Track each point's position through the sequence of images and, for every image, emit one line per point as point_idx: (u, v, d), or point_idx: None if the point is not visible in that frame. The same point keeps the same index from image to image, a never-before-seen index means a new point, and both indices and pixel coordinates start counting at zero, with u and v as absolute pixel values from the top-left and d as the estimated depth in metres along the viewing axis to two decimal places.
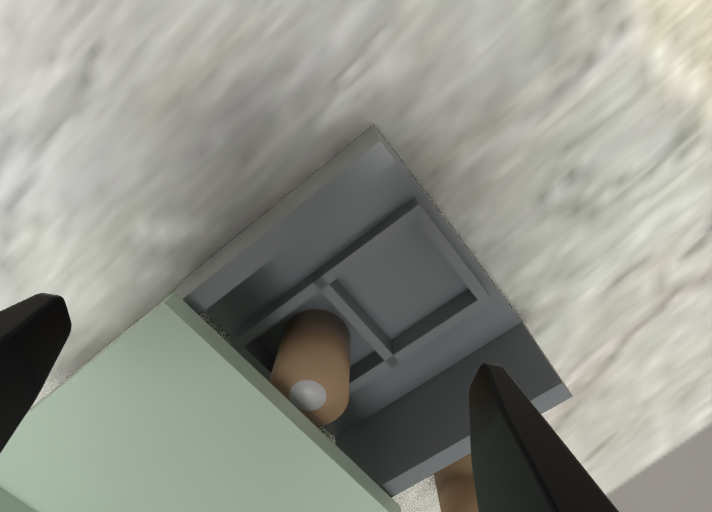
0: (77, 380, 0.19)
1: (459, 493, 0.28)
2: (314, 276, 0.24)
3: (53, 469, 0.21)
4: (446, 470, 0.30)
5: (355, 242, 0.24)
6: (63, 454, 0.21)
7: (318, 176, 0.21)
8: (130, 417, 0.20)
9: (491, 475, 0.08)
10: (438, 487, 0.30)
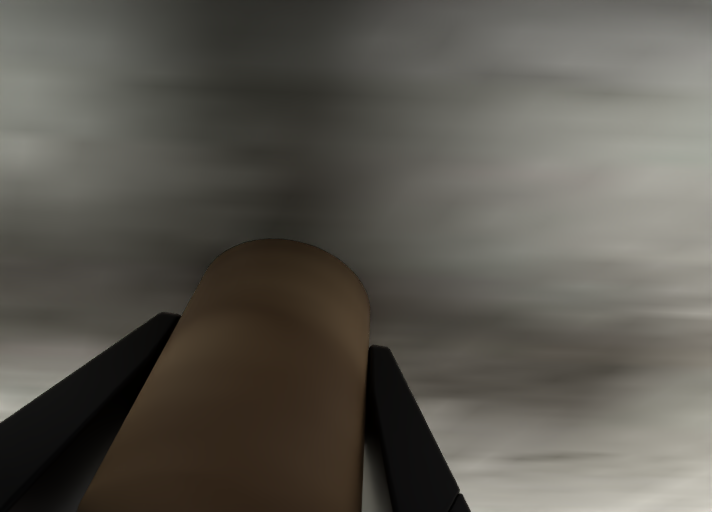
0: None
1: (270, 373, 0.07)
2: None
3: None
4: (264, 280, 0.08)
5: None
6: None
7: None
8: None
9: None
10: (198, 306, 0.08)
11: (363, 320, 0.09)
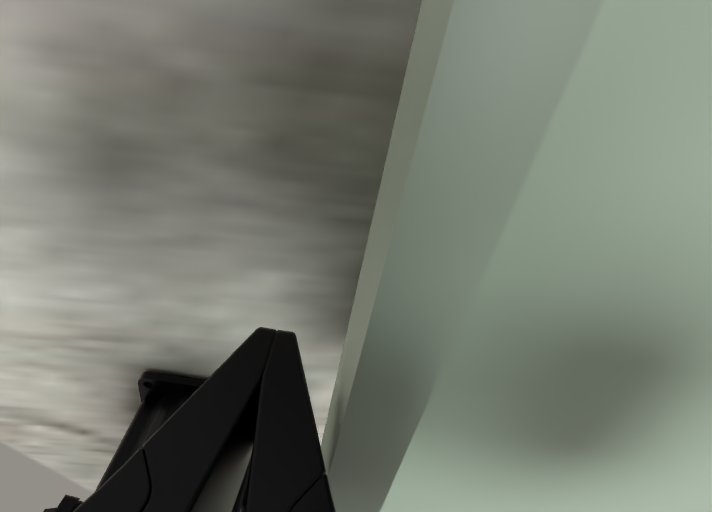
0: None
1: None
2: None
3: (672, 180, 0.07)
4: None
5: None
6: None
7: None
8: None
9: None
10: None
11: None
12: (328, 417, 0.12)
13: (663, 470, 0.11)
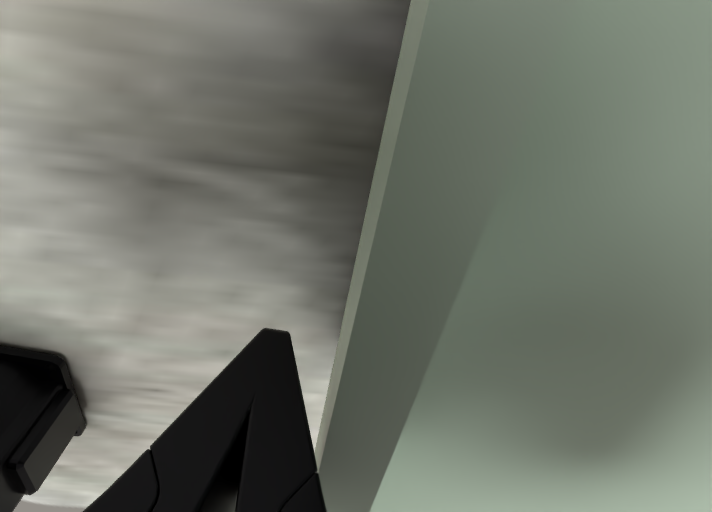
0: None
1: None
2: None
3: (658, 183, 0.07)
4: None
5: None
6: None
7: None
8: None
9: None
10: None
11: None
12: (322, 417, 0.12)
13: (656, 474, 0.11)
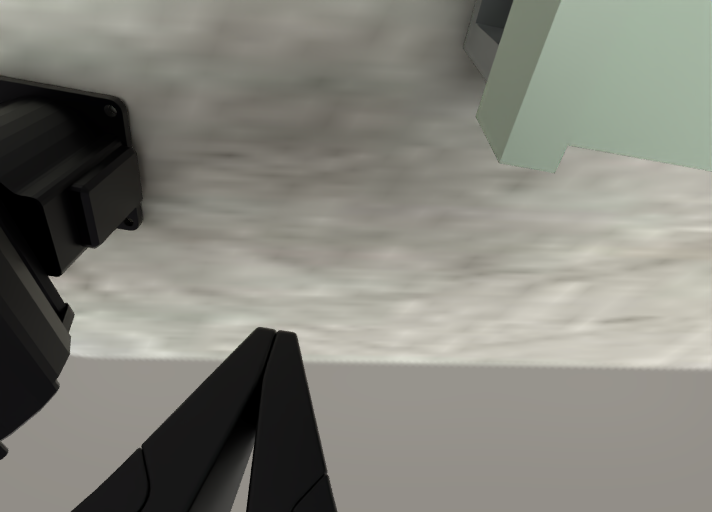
0: None
1: None
2: None
3: None
4: None
5: None
6: None
7: None
8: None
9: None
10: None
11: None
12: None
13: None
